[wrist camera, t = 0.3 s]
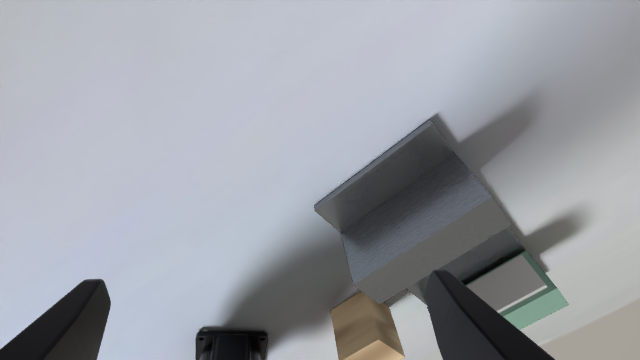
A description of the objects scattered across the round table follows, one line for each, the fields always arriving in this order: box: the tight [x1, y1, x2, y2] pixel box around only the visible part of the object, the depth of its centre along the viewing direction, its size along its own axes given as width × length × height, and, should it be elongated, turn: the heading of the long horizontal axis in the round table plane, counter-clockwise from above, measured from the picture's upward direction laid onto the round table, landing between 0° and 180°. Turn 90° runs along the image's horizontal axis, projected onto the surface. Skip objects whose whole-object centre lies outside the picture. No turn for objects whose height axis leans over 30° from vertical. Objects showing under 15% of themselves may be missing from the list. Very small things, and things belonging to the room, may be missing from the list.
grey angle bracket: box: [314, 119, 526, 306], centre depth 28 cm, size 22×10×6 cm, turn 40°
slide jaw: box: [427, 251, 569, 330], centre depth 31 cm, size 3×10×4 cm, turn 130°
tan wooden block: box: [331, 291, 405, 360], centre depth 32 cm, size 4×4×5 cm
